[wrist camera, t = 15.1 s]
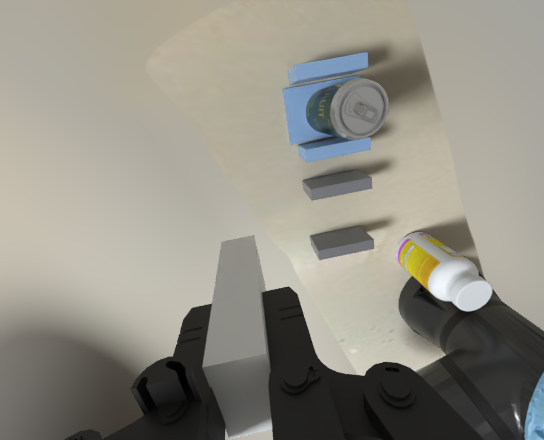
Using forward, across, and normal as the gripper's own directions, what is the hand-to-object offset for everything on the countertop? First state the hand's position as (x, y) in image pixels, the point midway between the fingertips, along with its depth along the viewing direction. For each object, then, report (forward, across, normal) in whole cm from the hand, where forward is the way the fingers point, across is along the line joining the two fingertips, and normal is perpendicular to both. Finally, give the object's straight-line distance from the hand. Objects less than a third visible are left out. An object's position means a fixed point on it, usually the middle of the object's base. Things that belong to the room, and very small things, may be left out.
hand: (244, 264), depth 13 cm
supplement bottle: (+27, -25, +19) cm, 41 cm away
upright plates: (+26, -12, +2) cm, 29 cm away
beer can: (+26, -12, -5) cm, 29 cm away
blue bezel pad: (+26, -12, -5) cm, 29 cm away
